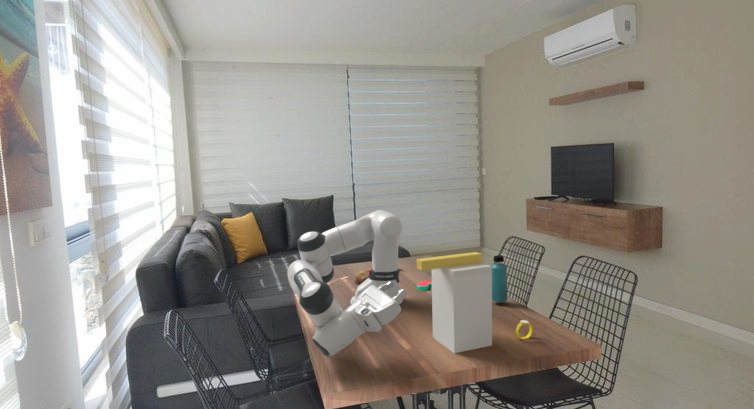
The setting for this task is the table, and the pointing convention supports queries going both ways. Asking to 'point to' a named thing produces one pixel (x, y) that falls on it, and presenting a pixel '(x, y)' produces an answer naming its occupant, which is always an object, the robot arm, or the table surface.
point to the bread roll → (361, 276)
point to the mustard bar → (449, 261)
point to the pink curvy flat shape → (424, 285)
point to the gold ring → (522, 322)
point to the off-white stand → (462, 306)
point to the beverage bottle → (499, 280)
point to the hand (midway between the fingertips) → (398, 287)
